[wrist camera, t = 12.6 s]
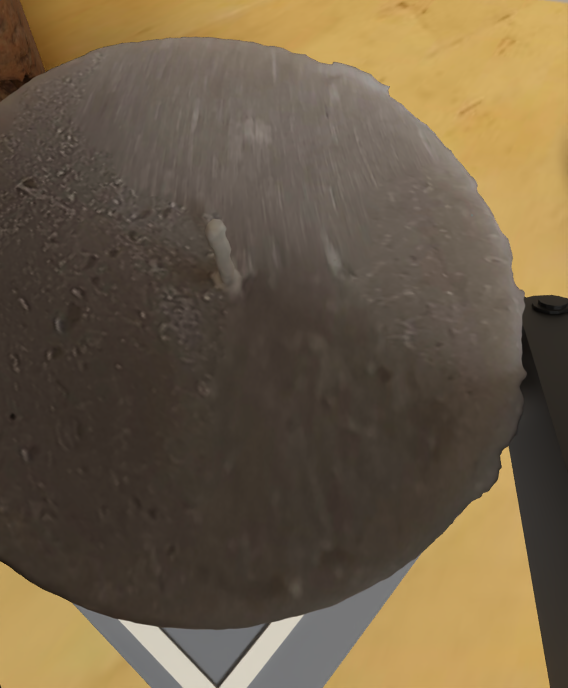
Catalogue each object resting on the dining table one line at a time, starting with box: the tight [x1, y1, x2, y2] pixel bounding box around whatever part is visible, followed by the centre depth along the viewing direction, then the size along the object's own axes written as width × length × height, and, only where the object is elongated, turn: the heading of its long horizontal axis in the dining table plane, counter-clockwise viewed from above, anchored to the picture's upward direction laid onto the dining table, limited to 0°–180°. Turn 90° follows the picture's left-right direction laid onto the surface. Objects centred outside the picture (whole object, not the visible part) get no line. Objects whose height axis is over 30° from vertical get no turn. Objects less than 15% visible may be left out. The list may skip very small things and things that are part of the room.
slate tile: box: [73, 555, 420, 688], centre depth 24 cm, size 20×17×1 cm
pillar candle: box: [0, 37, 527, 630], centre depth 14 cm, size 10×10×15 cm
